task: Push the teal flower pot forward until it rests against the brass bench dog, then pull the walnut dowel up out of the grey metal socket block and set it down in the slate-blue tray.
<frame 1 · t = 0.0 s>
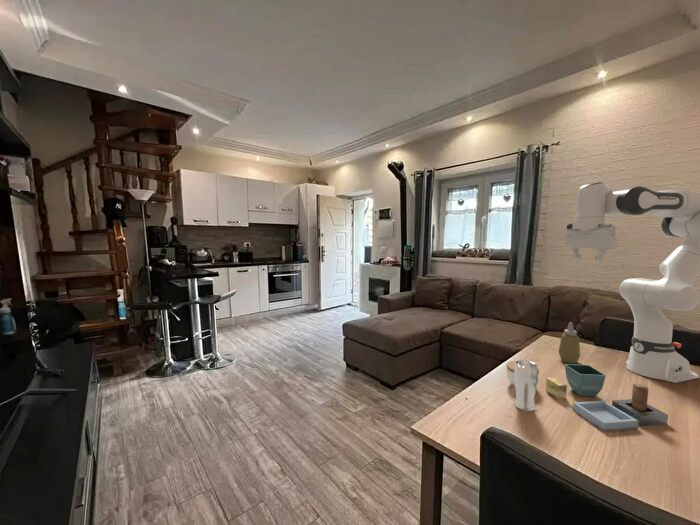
hand: (587, 259, 118), 48 cm above the table, fingers open, 8 cm apart
socket block: (638, 416, 95), on the table
lidded jar: (521, 386, 115), on the table
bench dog: (555, 394, 108), on the table
squeeze bottle: (568, 361, 136), on the table
flower pot: (583, 393, 109), on the table
dowel: (639, 401, 94), in the socket block
tray: (603, 418, 94), on the table
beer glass: (524, 407, 101), on the table
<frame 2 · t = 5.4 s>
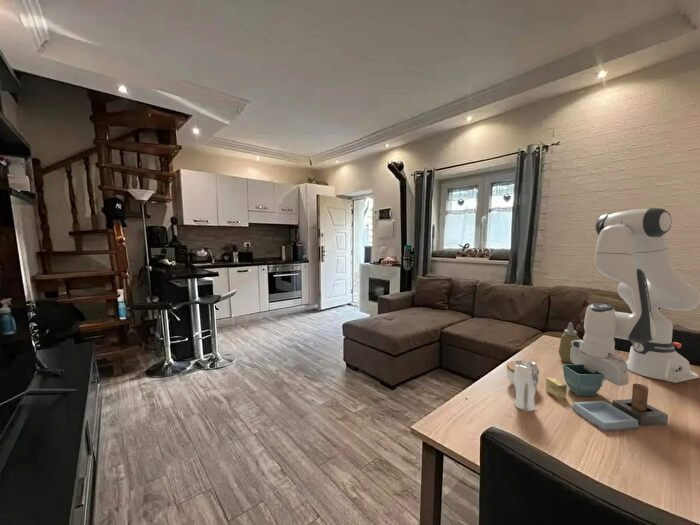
hand: (596, 385, 109), 3 cm above the table, fingers closed
flower pot: (581, 393, 109), on the table, touching gripper
everything else where it was.
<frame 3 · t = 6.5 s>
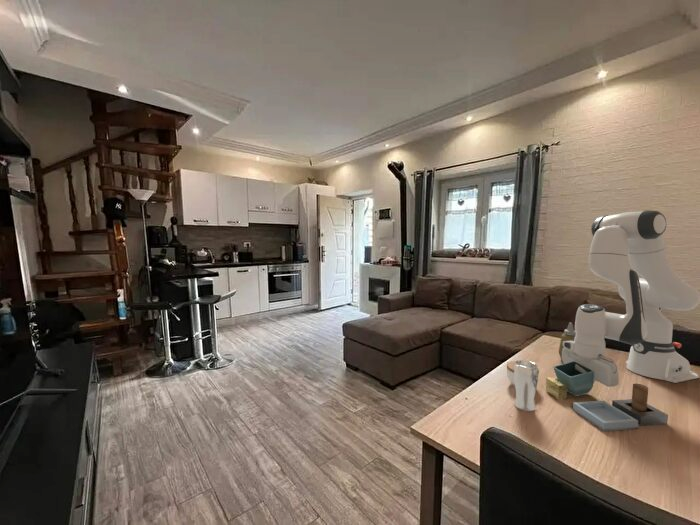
hand: (587, 385, 109), 3 cm above the table, fingers closed
flower pot: (577, 391, 109), on the table, touching gripper
everything else where it was.
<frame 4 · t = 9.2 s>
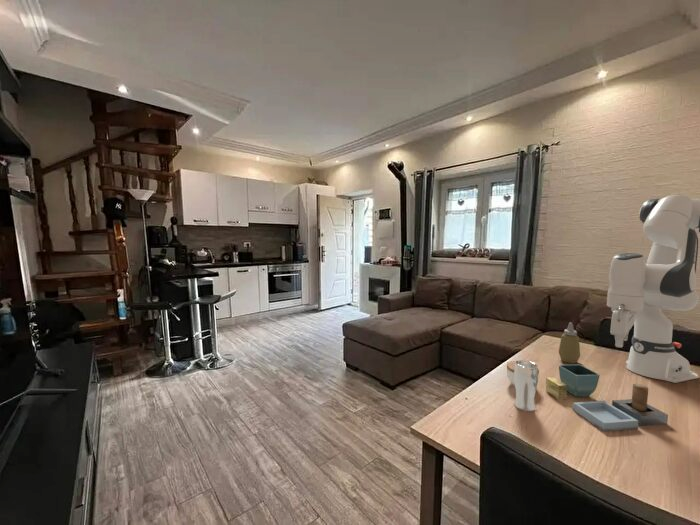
hand: (621, 343, 99), 22 cm above the table, fingers open, 8 cm apart
flower pot: (577, 393, 109), on the table
everything else where it was.
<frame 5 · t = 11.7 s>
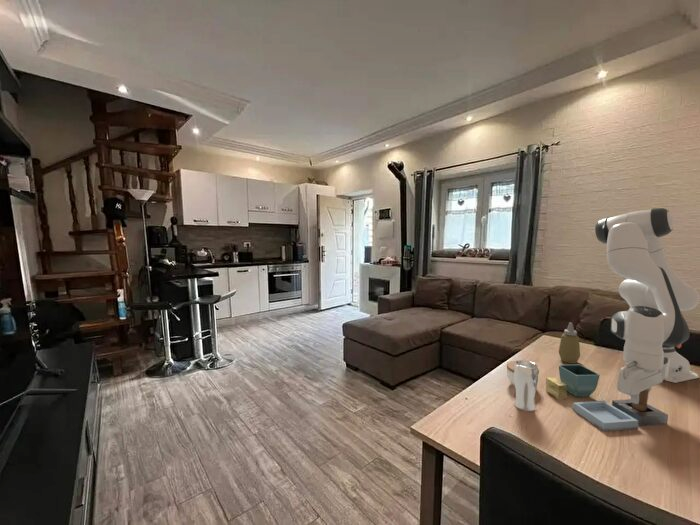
hand: (639, 400, 94), 5 cm above the table, fingers closed on dowel, 3 cm apart
dowel: (639, 401, 94), in the socket block, touching gripper
everything else where it was.
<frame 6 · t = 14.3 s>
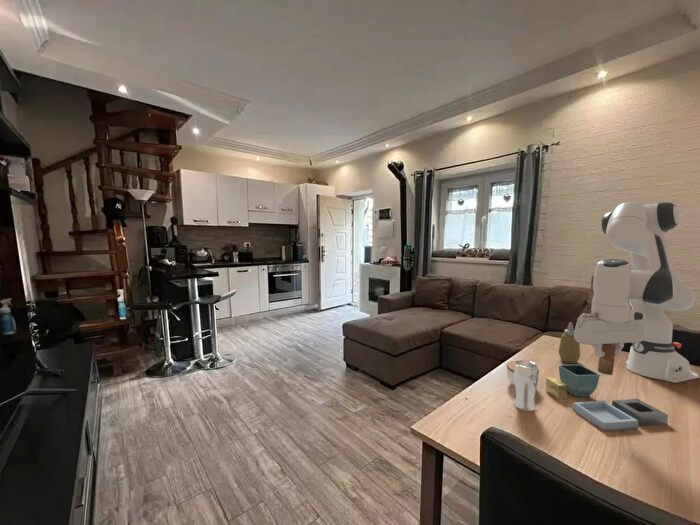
hand: (607, 356, 92), 20 cm above the table, fingers closed on dowel, 4 cm apart
dowel: (607, 356, 92), point 20 cm above the table, touching gripper
everything else where it was.
when the fingers open (7 cm above the table, at t = 16.8 s): dowel drops 2 cm, resting on tray.
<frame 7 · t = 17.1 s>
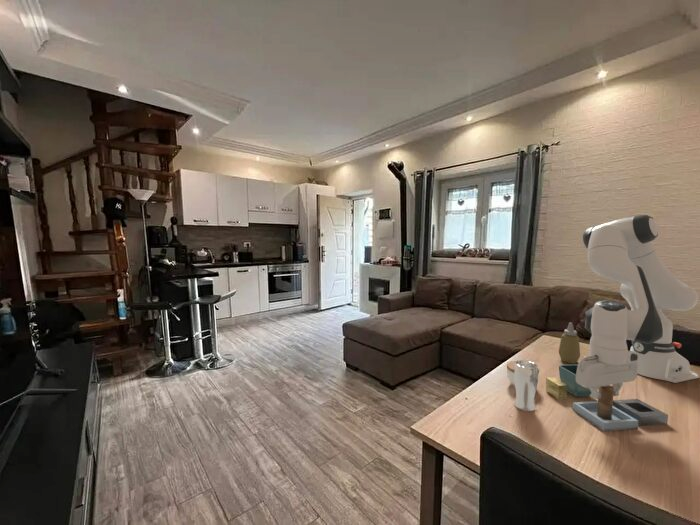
hand: (604, 396, 93), 7 cm above the table, fingers open, 6 cm apart
dowel: (605, 401, 93), in the tray, point 6 cm above the table
everything else where it was.
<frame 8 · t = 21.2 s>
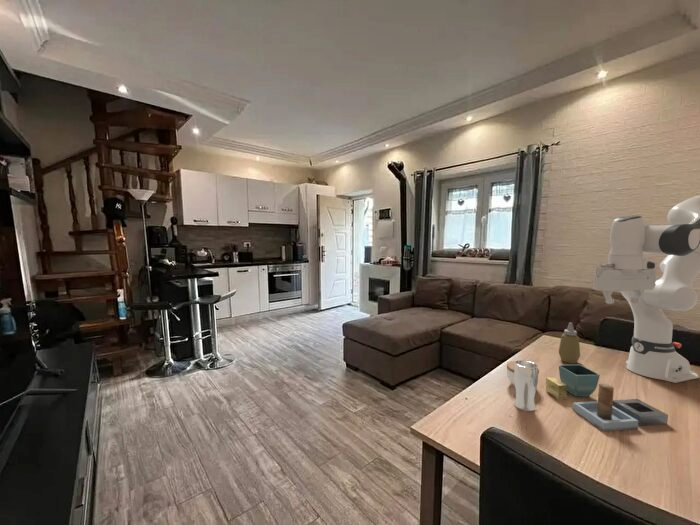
hand: (622, 303, 103), 34 cm above the table, fingers open, 8 cm apart
nothing on the table moved.
at the end: flower pot inside the target area (2.4 cm from its centre), on the table; dowel inside the target area on the tray (0.3 cm from its centre), point 5.6 cm above the tray's base; the gripper is holding nothing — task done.
